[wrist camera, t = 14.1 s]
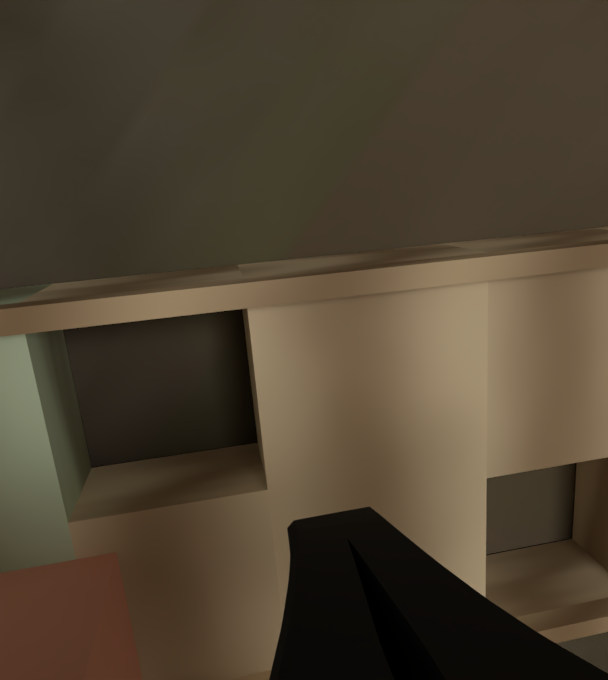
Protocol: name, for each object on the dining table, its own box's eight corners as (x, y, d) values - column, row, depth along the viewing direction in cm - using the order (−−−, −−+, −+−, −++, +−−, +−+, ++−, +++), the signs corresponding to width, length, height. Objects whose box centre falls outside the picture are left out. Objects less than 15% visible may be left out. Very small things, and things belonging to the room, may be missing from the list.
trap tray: (670, 220, 18) (836, 226, 13) (640, 538, 21) (764, 635, 17) (-130, 302, 15) (-295, 352, 10) (-20, 669, 18) (-102, 841, 13)
